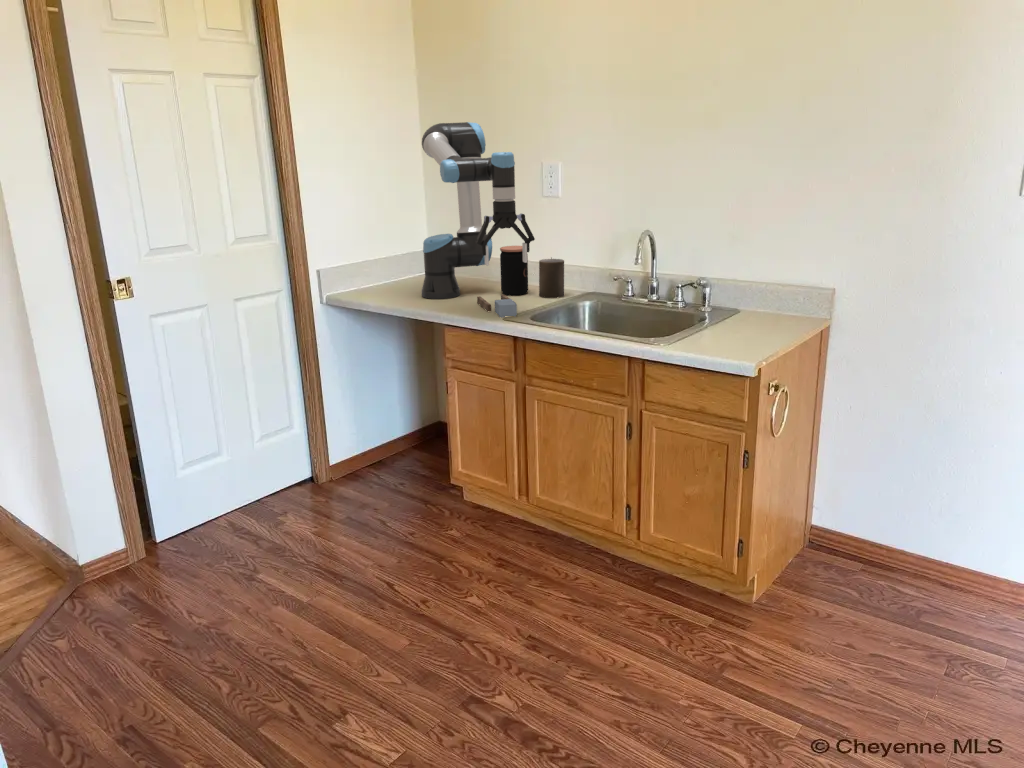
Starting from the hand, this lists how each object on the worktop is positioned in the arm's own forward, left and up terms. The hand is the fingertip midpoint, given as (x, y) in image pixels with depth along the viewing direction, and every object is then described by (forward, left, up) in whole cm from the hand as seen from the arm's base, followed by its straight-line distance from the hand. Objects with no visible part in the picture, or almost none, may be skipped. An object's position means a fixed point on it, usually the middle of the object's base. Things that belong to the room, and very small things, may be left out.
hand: (506, 263), depth 270 cm
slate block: (-1, 0, -18) cm, 18 cm away
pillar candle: (-25, +25, -18) cm, 40 cm away
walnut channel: (-15, 0, -18) cm, 23 cm away
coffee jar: (-35, +13, -18) cm, 41 cm away
